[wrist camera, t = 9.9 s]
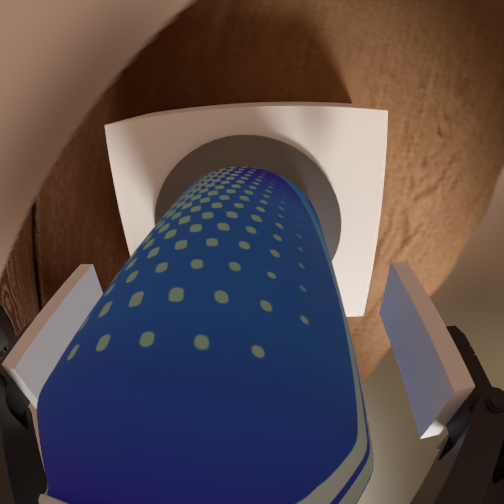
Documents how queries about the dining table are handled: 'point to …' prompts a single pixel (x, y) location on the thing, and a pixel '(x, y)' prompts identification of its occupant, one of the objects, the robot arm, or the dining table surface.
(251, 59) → the dining table surface
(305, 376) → the beer can
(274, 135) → the white block with disc
